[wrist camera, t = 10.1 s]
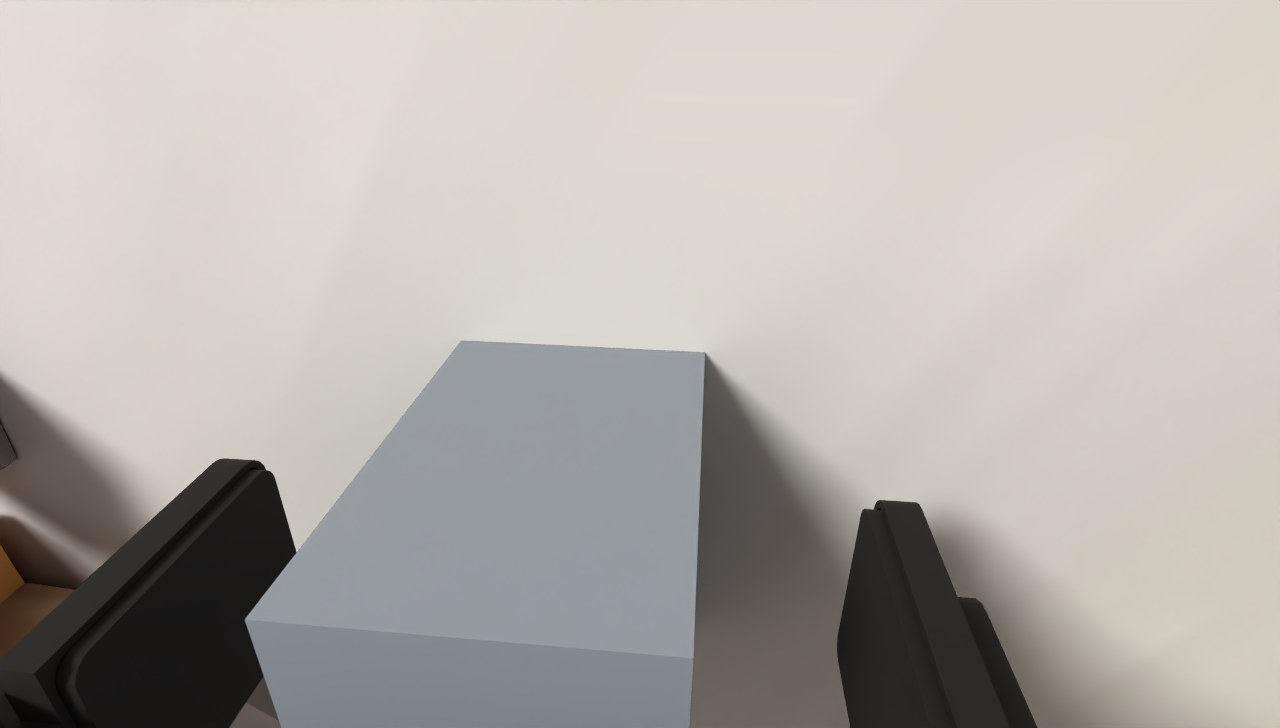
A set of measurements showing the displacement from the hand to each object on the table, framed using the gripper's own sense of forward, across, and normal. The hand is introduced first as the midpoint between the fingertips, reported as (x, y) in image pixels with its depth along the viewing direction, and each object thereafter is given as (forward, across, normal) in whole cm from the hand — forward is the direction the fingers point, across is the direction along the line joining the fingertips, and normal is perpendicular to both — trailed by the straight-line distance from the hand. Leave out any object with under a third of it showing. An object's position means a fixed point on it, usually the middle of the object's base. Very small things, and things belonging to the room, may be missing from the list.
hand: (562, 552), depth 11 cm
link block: (+2, 0, 0) cm, 2 cm away
